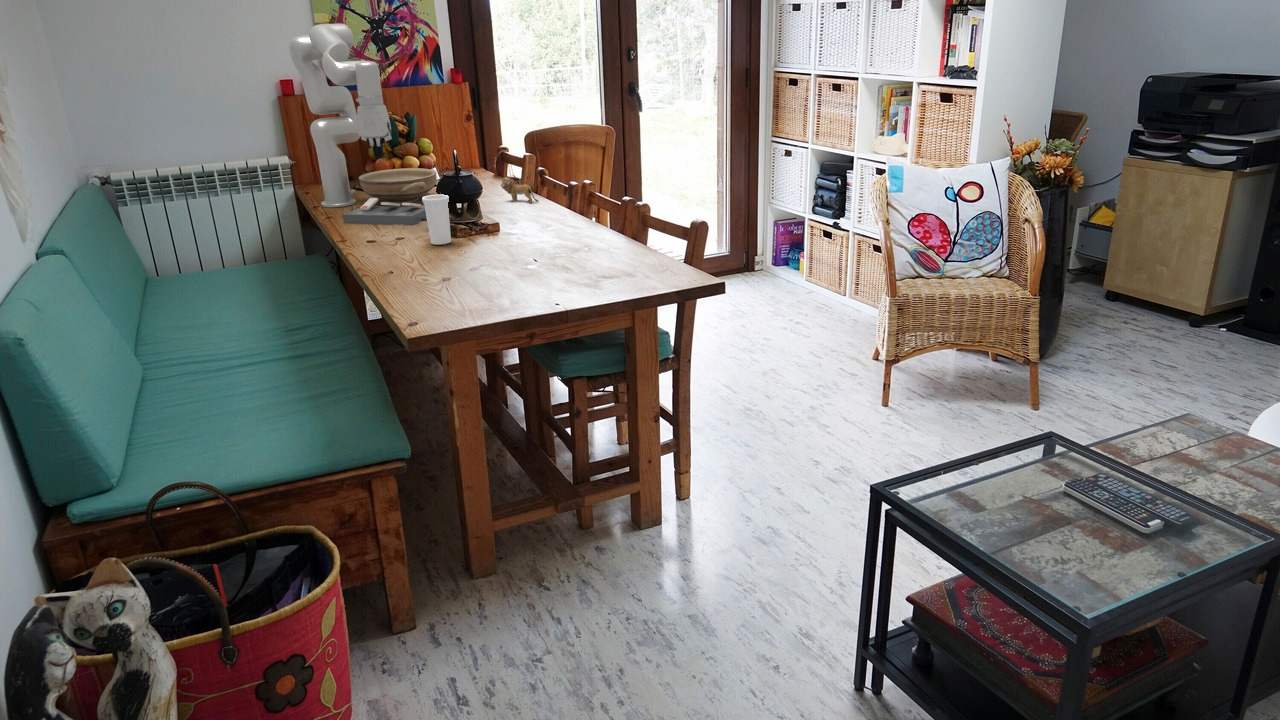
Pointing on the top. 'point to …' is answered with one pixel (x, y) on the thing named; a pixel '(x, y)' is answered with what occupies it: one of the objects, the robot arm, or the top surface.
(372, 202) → the far-end rocker
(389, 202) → the middle rocker
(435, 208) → the cup
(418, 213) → the grey switch panel
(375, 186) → the ceramic bowl
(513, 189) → the lion figurine
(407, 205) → the block
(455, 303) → the top surface
